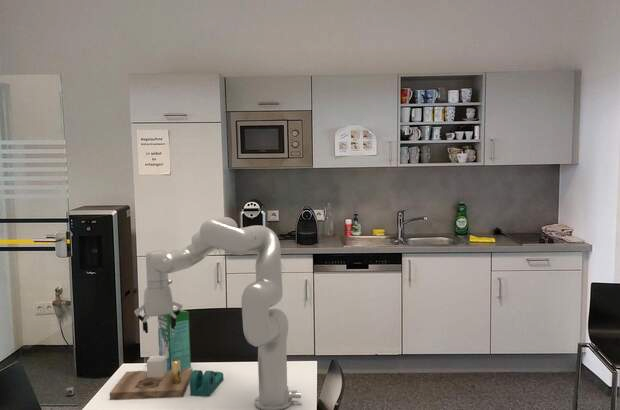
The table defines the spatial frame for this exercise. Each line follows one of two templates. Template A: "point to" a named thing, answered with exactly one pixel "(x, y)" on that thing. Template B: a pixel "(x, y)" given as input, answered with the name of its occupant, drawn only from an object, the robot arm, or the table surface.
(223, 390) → the table surface
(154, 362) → the cream cube
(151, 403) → the table surface
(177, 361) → the brass pin
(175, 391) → the walnut board
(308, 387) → the table surface
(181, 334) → the milk carton
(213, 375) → the bracket
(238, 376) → the table surface
